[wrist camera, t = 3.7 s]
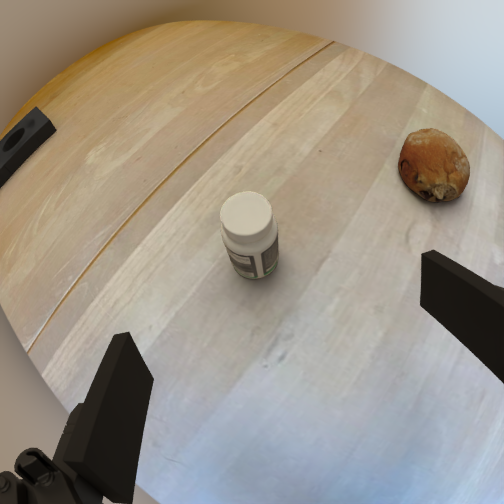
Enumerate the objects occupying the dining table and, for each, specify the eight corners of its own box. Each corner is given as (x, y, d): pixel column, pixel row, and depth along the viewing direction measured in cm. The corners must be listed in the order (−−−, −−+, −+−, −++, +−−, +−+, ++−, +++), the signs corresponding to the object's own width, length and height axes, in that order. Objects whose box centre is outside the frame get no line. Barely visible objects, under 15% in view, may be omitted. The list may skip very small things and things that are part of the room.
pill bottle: (273, 232, 31) (271, 182, 24) (283, 274, 29) (284, 233, 22) (227, 241, 31) (212, 193, 24) (234, 284, 29) (219, 246, 22)
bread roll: (454, 199, 36) (481, 155, 30) (445, 223, 29) (481, 170, 24) (401, 158, 39) (424, 114, 33) (379, 173, 33) (408, 116, 27)
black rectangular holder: (-1, 189, 40) (-10, 180, 37) (-9, 166, 44) (-16, 158, 41) (56, 130, 44) (49, 119, 42) (42, 115, 48) (36, 106, 46)
